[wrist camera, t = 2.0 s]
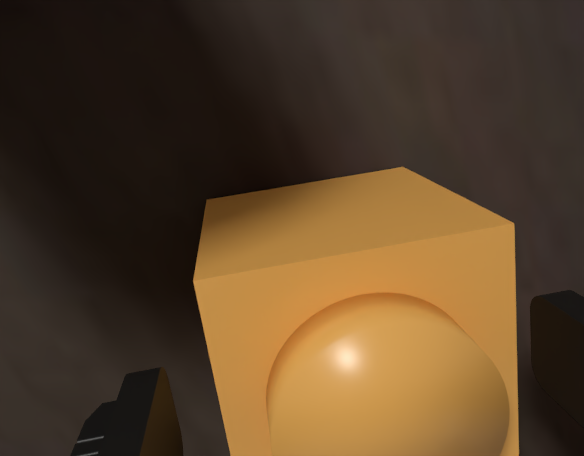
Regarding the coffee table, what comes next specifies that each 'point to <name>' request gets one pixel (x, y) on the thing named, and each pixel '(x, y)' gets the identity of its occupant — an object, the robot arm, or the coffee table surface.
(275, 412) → the domed orange cube
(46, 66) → the coffee table surface
